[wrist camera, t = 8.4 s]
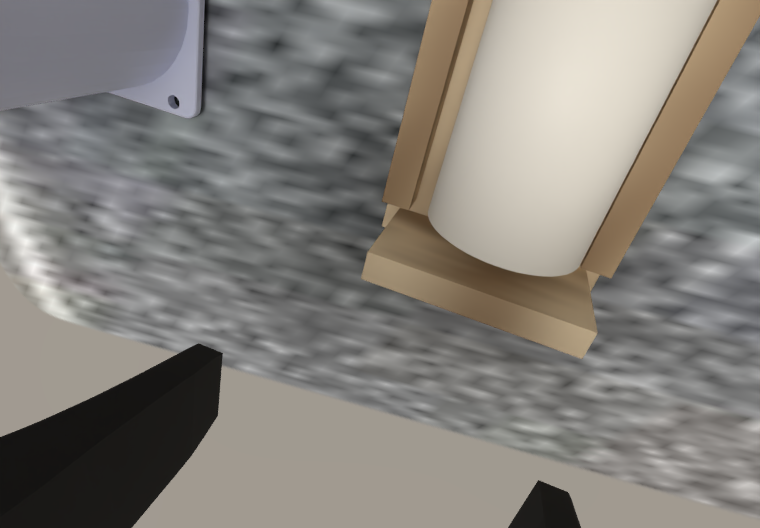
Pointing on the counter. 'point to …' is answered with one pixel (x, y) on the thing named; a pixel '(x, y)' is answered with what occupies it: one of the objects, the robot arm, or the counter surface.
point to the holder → (625, 216)
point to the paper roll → (556, 124)
